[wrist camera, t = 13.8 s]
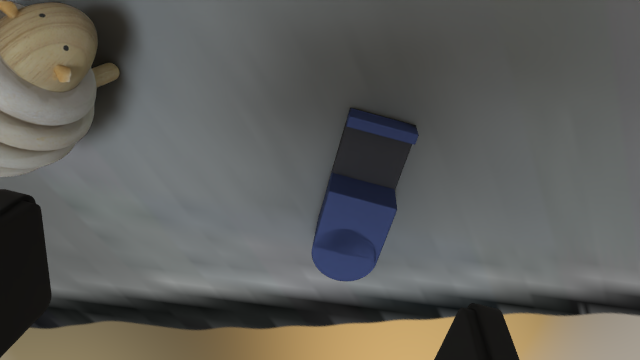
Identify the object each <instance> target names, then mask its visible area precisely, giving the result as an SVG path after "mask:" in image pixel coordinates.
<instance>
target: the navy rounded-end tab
mask: <svg viewBox="0 0 640 360" xmlns="http://www.w3.org/2000/svg"><path fill="white" fill-rule="evenodd" d="M418 136H419V135H418V131H417V128H416V126H415V125H412V124H408V123H405V122H401V121H397V120H393V119H390V118H386V117H382V116H379V115H375V114H371V113H368V112H364V111H360V110H356V109H353V108H350V110H349V114H348V117H347V121H346V124H345V128H344V131H343V134H342V138H341V141H340V145H339V148H338V152H337V155H336V159H335V162H334V166H333V169H332V173H331V176H330V180H329V183H328V187H327V190H326V194H325V197H324V201H323V204H322V207H321V211H320V214H319V218H318V222H317V227H316V232H315V237H314V242H313V247H312V258H313V261H314V264H315V265H316V267H317V268H318V269H319V270H320V271H321V272H322V273H323V274H324V275H326V276H328V277H330V278H332V279H335V280H339V281H354V280H358V279H361V278H363V277H365V276H366V275H368V274H369V273H370V272H371V271H372V270H373V268H374V267H375V265H376V263H377V260H378V258H379V255H380V252H381V250H382V247H383V245H384V242H385V240H386V237H387V234H388V232H389V229H390V227H391V224H392V222H393V219H394V216H395V214H396V211H397V205H396V197H395V188H396V185H397V183H398V180H399V177H400V175H401V172H402V169H403V167H404V164H405V161H406V159H407V156H408V153H409V151H410V148H411V145H412V144H414V145H415V143H416V141H417V138H418Z"/></svg>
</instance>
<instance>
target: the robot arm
mask: <svg viewBox="0 0 640 360" xmlns="http://www.w3.org/2000/svg"><path fill="white" fill-rule="evenodd" d="M50 301H51V287H50V279H49V271H48V263H47V255H46V246H45V238H44V230H43V222H42V214H41V208H40V206H39V205H37V204H36V203H35V200H34V198H33V197H32V196H30V195H26V194H22V193H18V192H14V191H10V190H6V189H0V357H1V356H2V355H3V354H4V353H5V352H6V351H7V350H8V349H9V348H10V347H11V346H12V345H13V344H14V343H15V342H16V341H17V340H18V339H19V338H20V337H21V336H22V335H23V334H24V332H25V331H26V330H27V329H28V328H29V327H30V326H31V325H32V324H33V323H34V322H35V321H36V320H37V319H38V318H39V317H40V316H41V315H42V314H43V313H44V311H45V310H46V309H47V307H48V306H49V303H50ZM434 360H519V357H518V355H517V352H516V349H515V346H514V344H513V341H512V339H511V336H510V333H509V330H508V327H507V325H506V322H505V319H504V317H503V314H502V312H501V311H500V310H499V309H495V308H491V307H487V306H483V305H479V304H475V303H471V304H470V305H469V306H468V308H467V309H466V308H460V309H459V311H458V313H457V315H456V317H455V319H454V321H453V323H452V325H451V327H450V329H449V331H448V333H447V335H446V337H445V339H444V341H443V343H442V346H441V347H440V349H439V351H438V353H437V355H436V357H435V359H434Z"/></svg>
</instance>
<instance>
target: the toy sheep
mask: <svg viewBox="0 0 640 360" xmlns="http://www.w3.org/2000/svg"><path fill="white" fill-rule="evenodd" d="M97 47H98V39H97V32H96V28H95V26H94V23H93V22H92V21H91V20H90V18H89V17H88V16H87V15H85V14H84V13H83V12H82V11H80V10H79V9H77V8H74V7H72V6H70V5H66V4H63V3H55V2H49V3H39V4H33V5H29V6H26V7H25V6H23V5H20V4H17V3H14V2H11V1H7V0H0V177H10V176H18V175H23V174H26V173H29V172H32V171H34V170H36V169H38V168H40V167H42V166H46V165H49V164H52V163H54V162H56V161H58V160H60V159H62V158H63V157H64V156H66V155H67V154H68V153H69V152H70V151H71V150H72V148H73V147H74V146H75V144H76V142H78V141H79V140H80V139H82V138H83V137H84V136H85V135H86V133H87V132H88V130H89V128H90V126H91V124H92V121H93V117H94V109H95V108H94V102H95V99H96V92H97V87H100V86H102V85H104V84H107V83H109V82H111V81H114V80H116V79H117V78H118V77H119V69H118V68H117V66H116V65H114V64H112V63H105V64H102V65H100V66H97V67H94V68H91V66H92V64H93V61H94V59H95V55H96V51H97Z"/></svg>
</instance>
